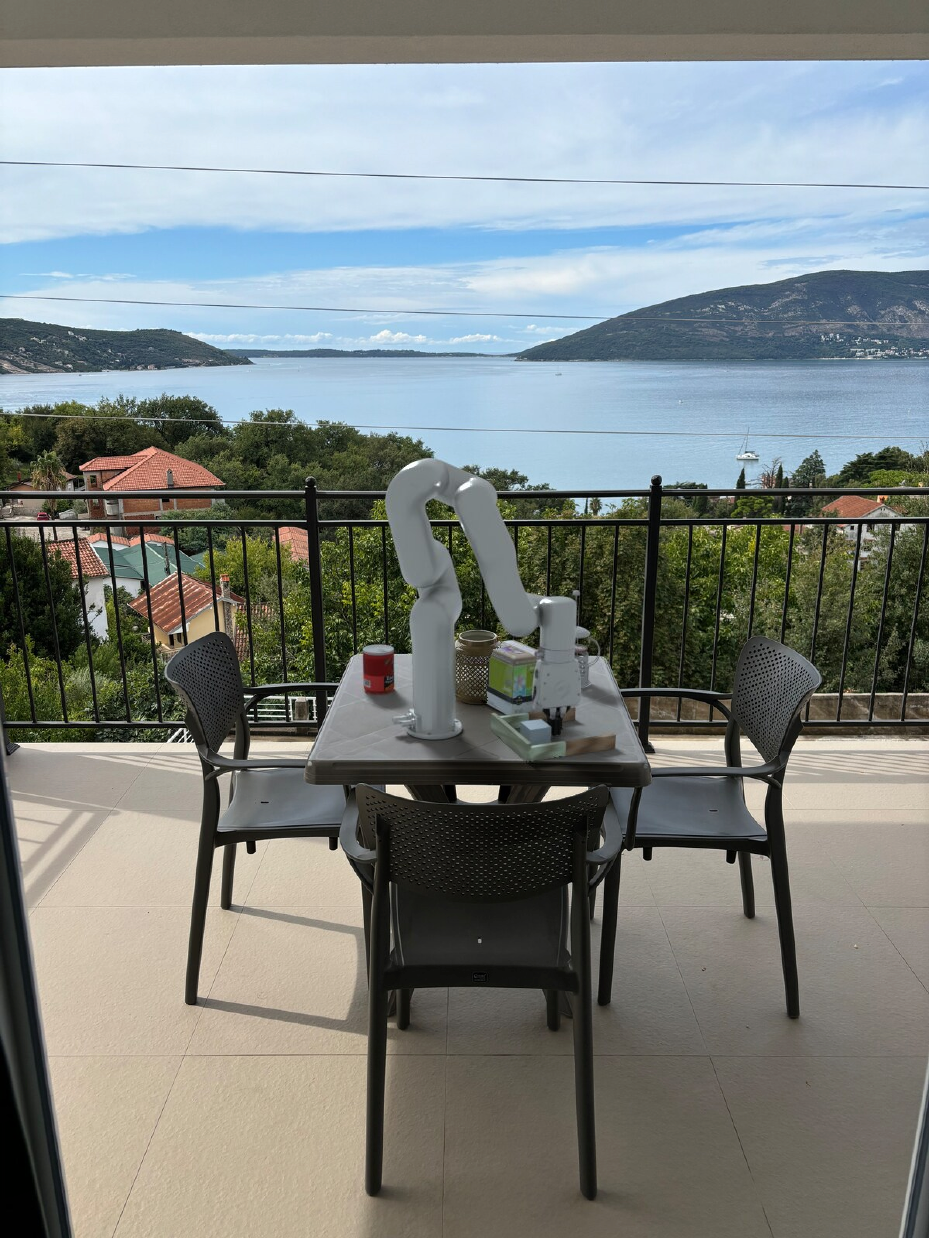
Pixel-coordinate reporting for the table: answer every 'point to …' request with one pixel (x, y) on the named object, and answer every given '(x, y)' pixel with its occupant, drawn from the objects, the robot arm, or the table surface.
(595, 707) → the table surface
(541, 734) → the block
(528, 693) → the tea box
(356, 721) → the table surface
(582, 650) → the french press
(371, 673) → the canned food
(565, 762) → the table surface
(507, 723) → the trap lane
